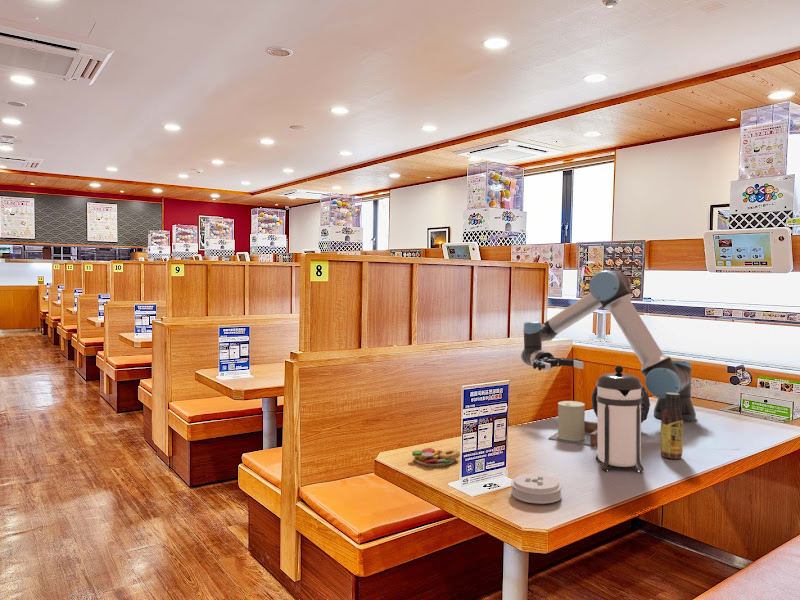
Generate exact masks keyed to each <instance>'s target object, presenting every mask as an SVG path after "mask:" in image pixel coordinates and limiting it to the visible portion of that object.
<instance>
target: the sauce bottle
mask: <svg viewBox="0 0 800 600" xmlns="http://www.w3.org/2000/svg"><path fill="white" fill-rule="evenodd" d="M679 399H680V394H678V393H666V408H665V410H664V411H663V413H662V419H660V420H661V422H660V443H659V444H660V445H659V448H660V449H659V450H660V456H661V457H662V456H663V457H662V458H665V459H668V458H670V460H680V459H681V458H682V456H683V450H684V449H683V448H684V447H683V445H684V444H683V443H684V439H683V438H684V422H683V418H682V415H681V412H680V409H679Z"/></svg>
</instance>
